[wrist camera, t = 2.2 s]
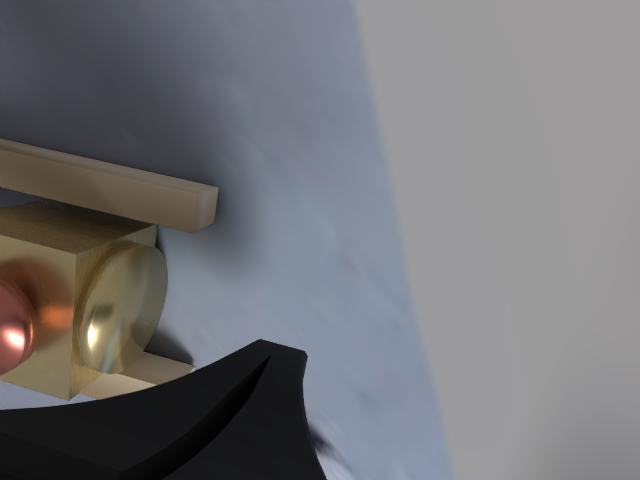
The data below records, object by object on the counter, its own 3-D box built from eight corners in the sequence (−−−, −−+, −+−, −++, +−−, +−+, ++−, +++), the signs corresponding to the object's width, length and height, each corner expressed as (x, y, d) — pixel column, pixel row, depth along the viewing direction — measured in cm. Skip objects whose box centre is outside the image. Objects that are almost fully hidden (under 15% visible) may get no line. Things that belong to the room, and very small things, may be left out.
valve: (173, 227, 16) (69, 271, 11) (161, 343, 17) (62, 429, 12) (37, 195, 16) (-117, 222, 12) (34, 308, 18) (-107, 375, 13)
